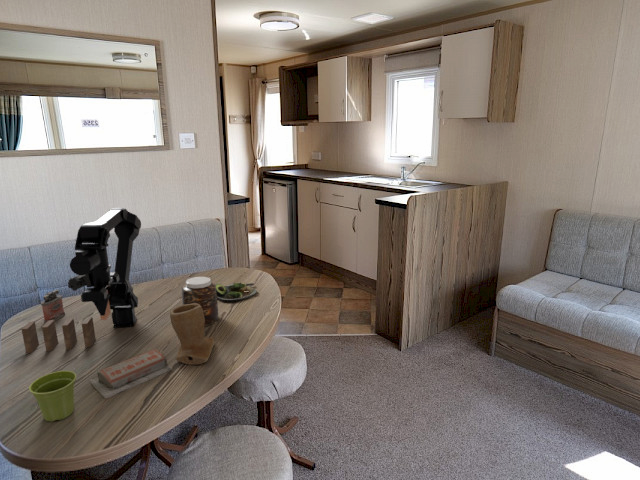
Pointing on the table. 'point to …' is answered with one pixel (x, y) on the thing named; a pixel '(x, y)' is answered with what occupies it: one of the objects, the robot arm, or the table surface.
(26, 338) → the domino
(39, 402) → the plant pot
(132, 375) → the packaged product
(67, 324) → the domino
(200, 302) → the jar
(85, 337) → the domino
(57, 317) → the lighter
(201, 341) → the tan boot
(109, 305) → the domino
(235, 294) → the salad plate
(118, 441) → the table surface
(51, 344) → the domino
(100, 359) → the table surface
